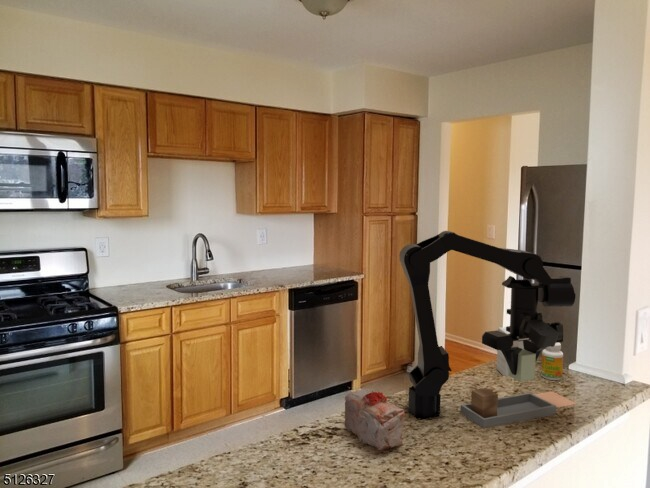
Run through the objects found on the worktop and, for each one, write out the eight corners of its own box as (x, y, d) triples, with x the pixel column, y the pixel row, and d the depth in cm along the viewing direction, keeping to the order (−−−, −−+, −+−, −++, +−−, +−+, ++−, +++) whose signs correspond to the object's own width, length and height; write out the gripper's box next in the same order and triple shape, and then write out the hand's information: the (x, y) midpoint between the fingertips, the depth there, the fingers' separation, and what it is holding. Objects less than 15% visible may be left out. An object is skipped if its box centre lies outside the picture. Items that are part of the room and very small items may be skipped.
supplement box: (531, 378, 139) (533, 333, 138) (504, 378, 139) (506, 333, 138) (521, 369, 146) (523, 326, 145) (495, 369, 146) (497, 326, 145)
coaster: (551, 411, 118) (551, 408, 118) (526, 398, 125) (526, 395, 125) (577, 405, 121) (577, 403, 121) (551, 393, 128) (551, 391, 128)
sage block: (520, 381, 113) (521, 356, 113) (508, 375, 117) (509, 350, 116) (534, 379, 115) (535, 353, 114) (522, 373, 118) (523, 348, 118)
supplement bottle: (542, 379, 138) (543, 345, 137) (539, 372, 143) (541, 339, 142) (563, 381, 136) (565, 346, 135) (560, 374, 142) (562, 341, 141)
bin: (483, 431, 108) (483, 419, 108) (460, 415, 116) (460, 404, 115) (555, 416, 115) (556, 405, 115) (529, 402, 123) (530, 392, 123)
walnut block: (482, 423, 110) (483, 396, 110) (470, 415, 114) (471, 390, 114) (497, 420, 112) (497, 394, 111) (485, 413, 116) (486, 387, 115)
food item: (410, 446, 102) (411, 399, 101) (380, 458, 97) (380, 409, 96) (366, 421, 113) (367, 379, 112) (338, 431, 108) (338, 387, 107)
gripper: (516, 318, 103) (513, 391, 105) (584, 310, 110) (581, 380, 111) (481, 307, 114) (479, 374, 115) (545, 300, 120) (543, 364, 122)
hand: (521, 373), depth 116 cm, fingers closed on sage block, 4 cm apart
